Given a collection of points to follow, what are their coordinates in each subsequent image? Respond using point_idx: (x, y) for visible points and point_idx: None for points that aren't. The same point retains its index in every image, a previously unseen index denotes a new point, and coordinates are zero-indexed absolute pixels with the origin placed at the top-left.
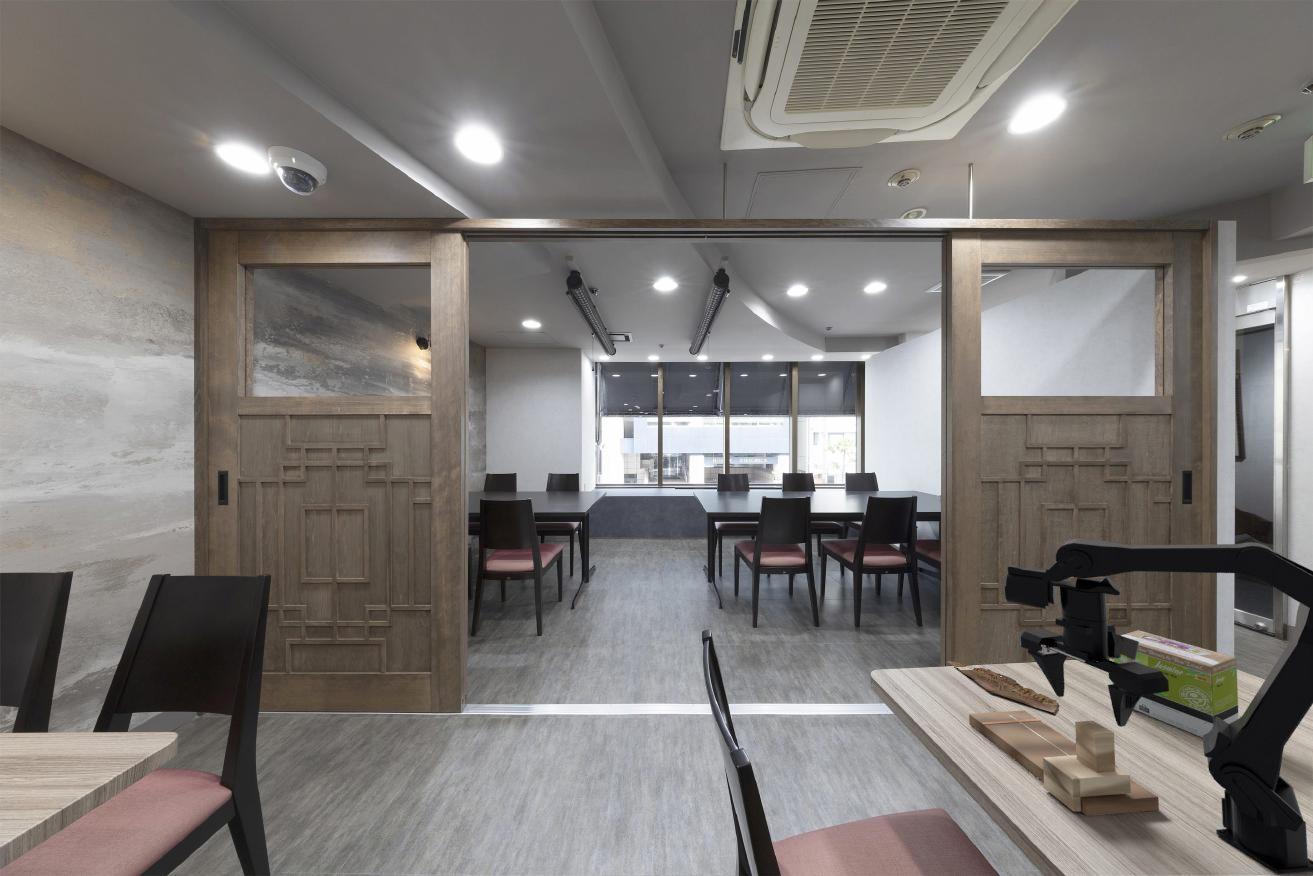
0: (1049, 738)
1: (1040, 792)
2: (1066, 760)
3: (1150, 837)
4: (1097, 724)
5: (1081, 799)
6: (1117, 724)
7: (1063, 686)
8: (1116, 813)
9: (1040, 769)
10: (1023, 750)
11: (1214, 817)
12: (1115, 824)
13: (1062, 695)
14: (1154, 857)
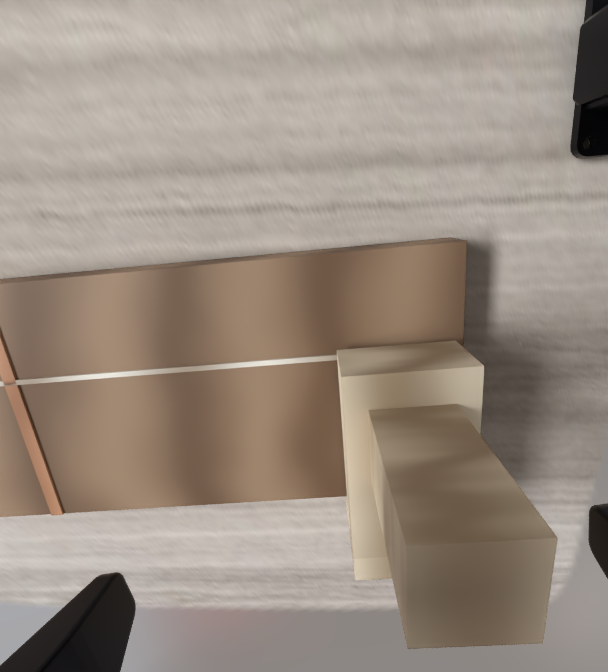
0: (122, 349)
1: None
2: (376, 522)
3: (535, 369)
4: (454, 558)
5: None
6: (600, 560)
7: (64, 666)
8: None
9: (301, 495)
10: (209, 486)
11: (504, 59)
12: None
13: (118, 588)
14: (588, 420)
